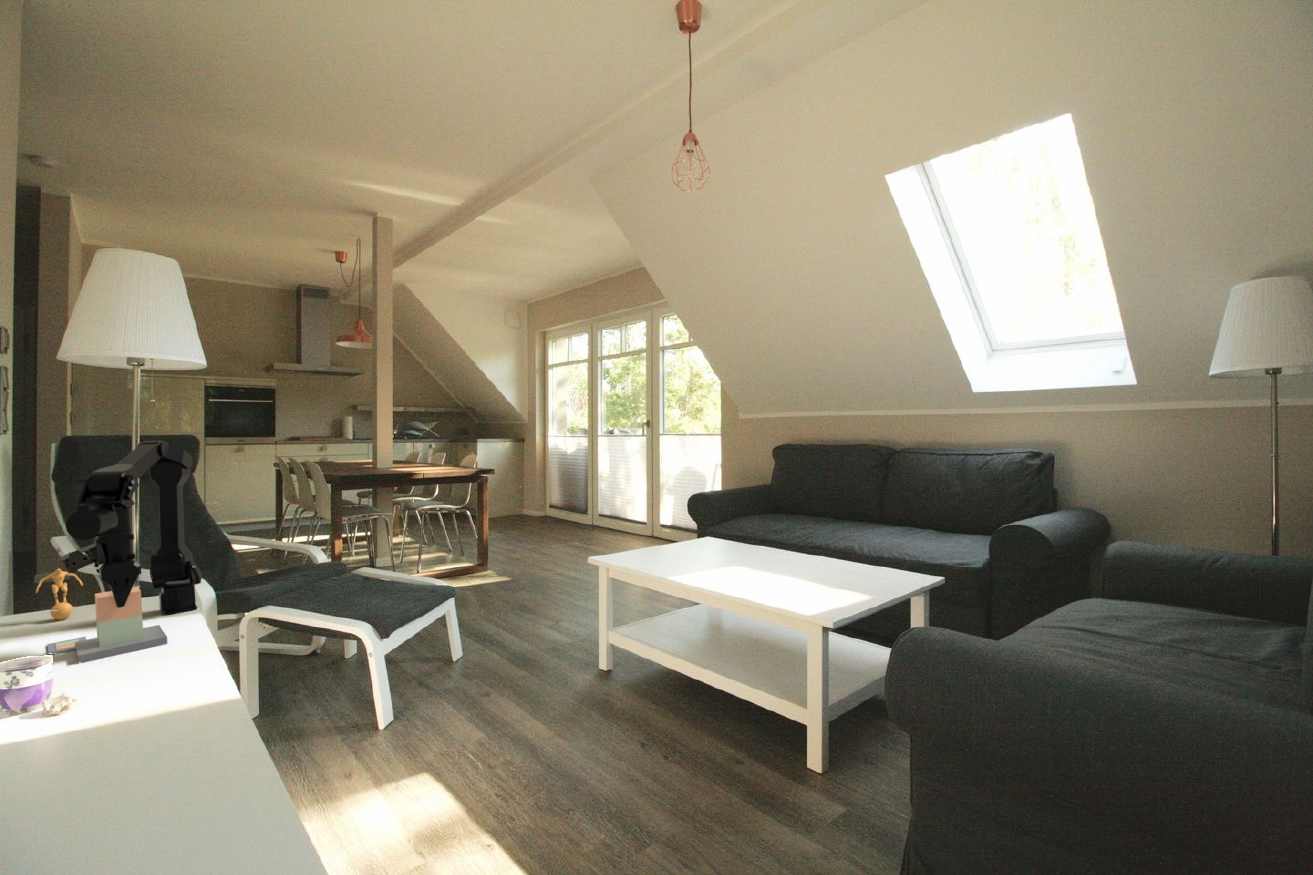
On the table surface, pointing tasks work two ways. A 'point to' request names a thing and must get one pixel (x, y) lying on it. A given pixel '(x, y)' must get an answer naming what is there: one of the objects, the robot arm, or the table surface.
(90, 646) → the base plate
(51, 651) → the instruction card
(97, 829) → the table surface
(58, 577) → the figurine
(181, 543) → the robot arm
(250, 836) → the table surface
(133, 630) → the sage brick
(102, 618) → the terracotta brick
